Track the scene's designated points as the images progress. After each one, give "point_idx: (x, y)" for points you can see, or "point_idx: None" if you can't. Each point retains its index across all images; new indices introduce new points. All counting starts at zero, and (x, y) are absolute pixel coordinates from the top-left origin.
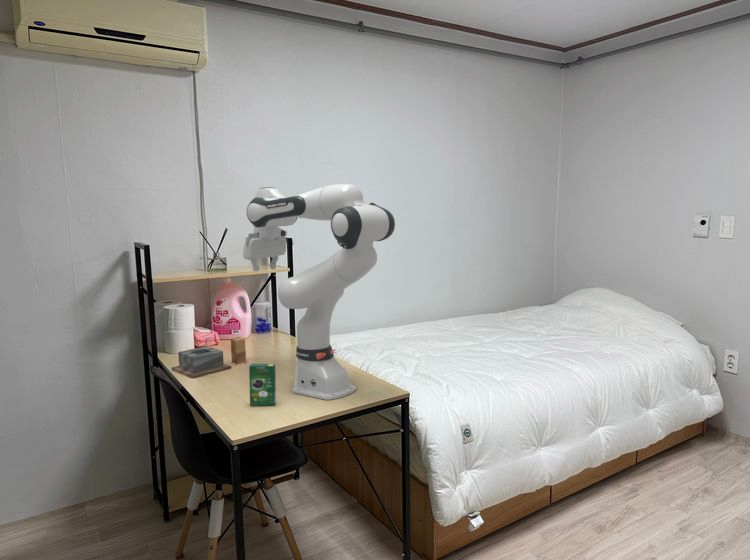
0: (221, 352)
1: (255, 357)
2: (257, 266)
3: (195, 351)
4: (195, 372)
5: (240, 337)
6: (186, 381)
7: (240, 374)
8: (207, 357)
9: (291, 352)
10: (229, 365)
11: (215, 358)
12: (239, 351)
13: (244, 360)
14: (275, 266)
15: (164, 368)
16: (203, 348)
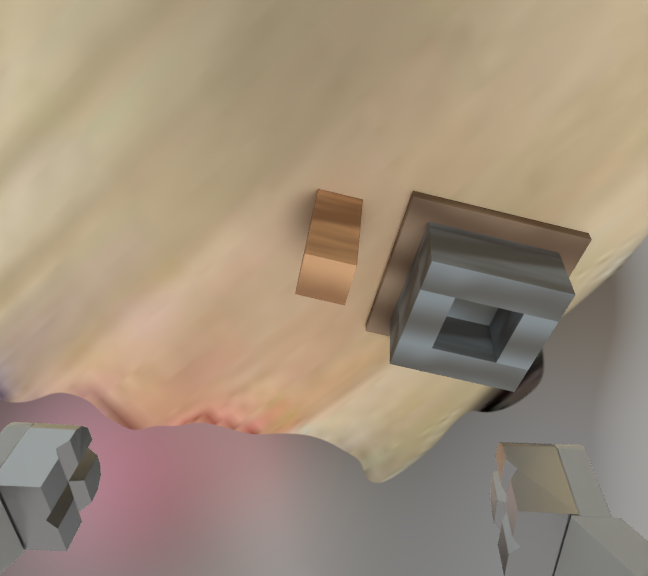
0: (439, 259)
1: (235, 205)
2: (584, 514)
3: (469, 353)
4: (556, 254)
5: (299, 283)
6: (626, 230)
7: (471, 94)
8: (509, 271)
9: (74, 110)
10: (410, 207)
11: (469, 254)
12: (344, 228)
13: (325, 197)
14: (12, 431)
15: None
16: (429, 350)
